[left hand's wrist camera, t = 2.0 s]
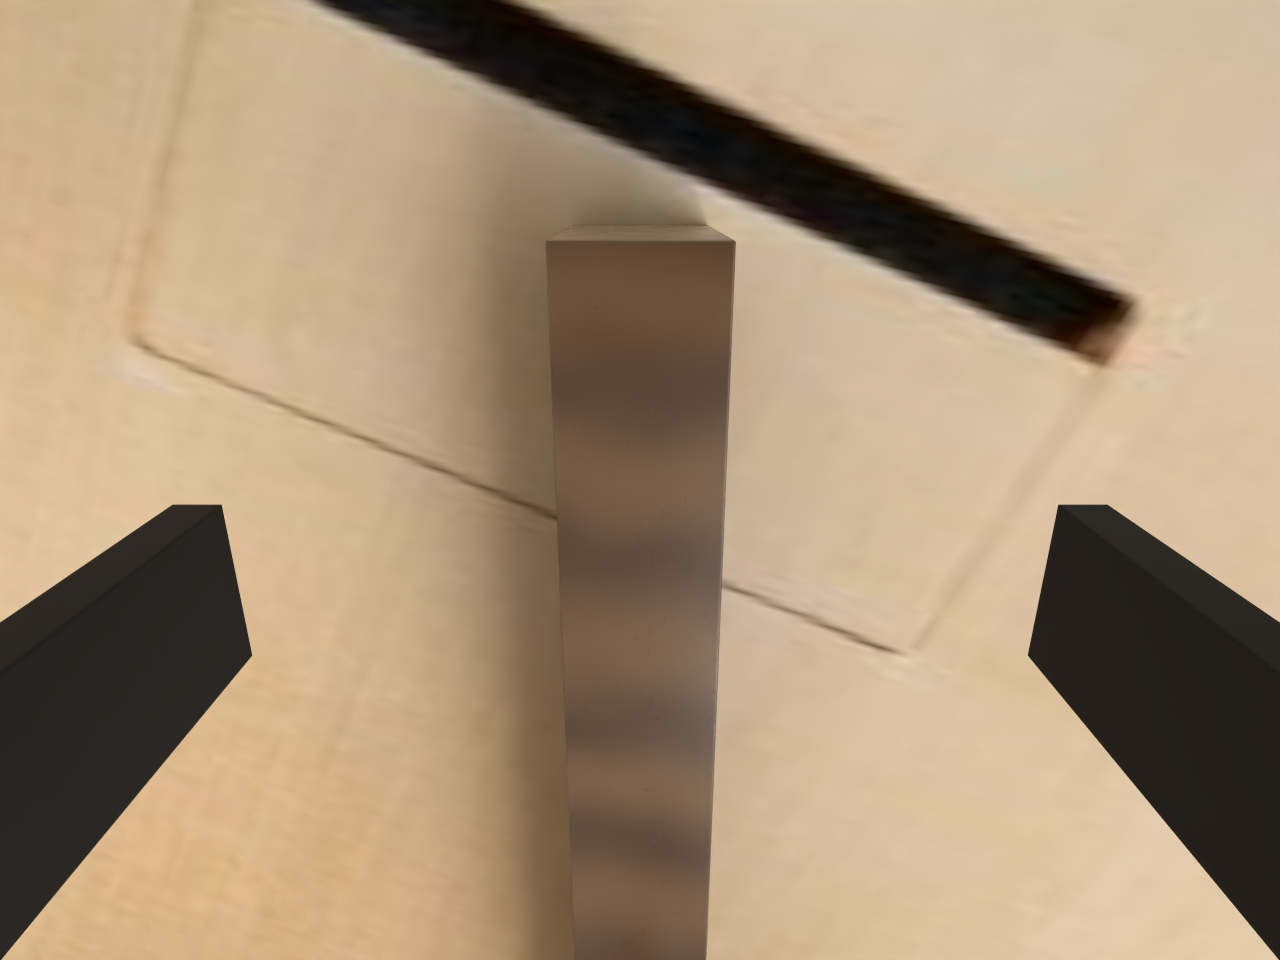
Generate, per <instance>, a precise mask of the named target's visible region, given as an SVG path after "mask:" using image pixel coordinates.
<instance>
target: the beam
mask: <svg viewBox="0 0 1280 960" xmlns="http://www.w3.org/2000/svg"><path fill="white" fill-rule="evenodd" d="M735 249H736V242H735V241H734V240H732V239H730V238H729V237H727V236H725V235H724V234H722V233H720V232H719V231H717V230H715V229H713V228H712V227H710V226H708V225H573V226H571V227H569V228H568V229H566V230H564V231H563V232H561V233H559V234H558V235H556V236H554V237H553V238H551V239H549V240H547V241H546V264H547V289H548V314H549V338H550V363H551V388H552V412H553V437H554V461H555V486H556V511H557V535H558V560H559V584H560V609H561V634H562V658H563V683H564V707H565V732H566V757H567V781H568V806H569V831H570V855H571V880H572V904H573V929H574V954H575V960H706V953H707V928H708V904H709V880H710V855H711V831H712V807H713V783H714V758H715V734H716V710H717V686H718V661H719V637H720V613H721V588H722V564H723V540H724V516H725V491H726V467H727V443H728V418H729V394H730V370H731V346H732V321H733V297H734V273H735Z"/></svg>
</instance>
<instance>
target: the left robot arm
mask: <svg viewBox="0 0 1280 960" xmlns="http://www.w3.org/2000/svg"><path fill="white" fill-rule="evenodd" d="M251 656H252V652H251V647H250V642H249V638H248V633H247V628H246V623H245V618H244V613H243V608H242V603H241V598H240V593H239V588H238V583H237V578H236V573H235V569H234V564H233V559H232V554H231V549H230V544H229V539H228V534H227V529H226V524H225V519H224V514H223V509H222V505H172V506H170V507H169V508H167V509H166V510H164V511H163V512H161V513H160V514H158V515H157V516H156V517H154V518H153V519H151V520H150V521H148V522H147V523H145V524H144V525H142V526H141V527H139V528H138V529H136V530H135V531H134V532H132V533H131V534H129V535H128V536H126V537H125V538H123V539H122V540H120V541H119V542H117V543H116V544H115V545H113V546H112V547H110V548H109V549H107V550H106V551H104V552H103V553H101V554H100V555H98V556H97V557H95V558H94V559H93V560H91V561H90V562H88V563H87V564H85V565H84V566H82V567H81V568H79V569H78V570H76V571H75V572H74V573H72V574H71V575H69V576H68V577H66V578H65V579H63V580H62V581H60V582H59V583H57V584H56V585H55V586H53V587H52V588H50V589H49V590H47V591H46V592H44V593H43V594H41V595H40V596H38V597H37V598H35V599H34V600H33V601H31V602H30V603H28V604H27V605H25V606H24V607H22V608H21V609H19V610H18V611H16V612H15V613H14V614H12V615H11V616H9V617H8V618H6V619H5V620H3V621H2V622H0V960H1V959H2V958H3V957H4V956H5V954H6V953H7V952H8V951H9V949H10V948H11V947H12V946H13V945H14V943H15V942H16V941H17V940H18V939H19V937H20V936H21V935H22V934H23V933H24V931H25V930H26V929H27V928H28V926H29V925H30V924H31V923H32V922H33V920H34V919H35V918H36V917H37V916H38V914H39V913H40V912H41V911H42V910H43V908H44V907H45V906H46V905H47V903H48V902H49V901H50V900H51V899H52V897H53V896H54V895H55V894H56V893H57V891H58V890H59V889H60V888H61V886H62V885H63V884H64V883H65V882H66V880H67V879H68V878H69V877H70V876H71V874H72V873H73V872H74V871H75V870H76V868H77V867H78V866H79V865H80V863H81V862H82V861H83V860H84V859H85V857H86V856H87V855H88V854H89V853H90V851H91V850H92V849H93V848H94V846H95V845H96V844H97V843H98V842H99V840H100V839H101V838H102V837H103V836H104V834H105V833H106V832H107V831H108V830H109V828H110V827H111V826H112V825H113V823H114V822H115V821H116V820H117V819H118V817H119V816H120V815H121V814H122V813H123V811H124V810H125V809H126V808H127V807H128V805H129V804H130V803H131V802H132V800H133V799H134V798H135V797H136V796H137V794H138V793H139V792H140V791H141V790H142V788H143V787H144V786H145V785H146V783H147V782H148V781H149V780H150V779H151V777H152V776H153V775H154V774H155V773H156V771H157V770H158V769H159V768H160V767H161V765H162V764H163V763H164V762H165V760H166V759H167V758H168V757H169V756H170V754H171V753H172V752H173V751H174V750H175V748H176V747H177V746H178V745H179V743H180V742H181V741H182V740H183V739H184V737H185V736H186V735H187V734H188V733H189V731H190V730H191V729H192V728H193V727H194V725H195V724H196V723H197V722H198V720H199V719H200V718H201V717H202V716H203V714H204V713H205V712H206V711H207V710H208V708H209V707H210V706H211V705H212V704H213V702H214V701H215V700H216V699H217V697H218V696H219V695H220V694H221V693H222V691H223V690H224V689H225V688H226V687H227V685H228V684H229V683H230V682H231V680H232V679H233V678H234V677H235V676H236V674H237V673H238V672H239V671H240V670H241V668H242V667H243V666H244V665H245V664H246V662H247V661H248V660H249V659H250V657H251ZM1028 656H1029V657H1030V659H1031V660H1032V661H1033V662H1034V664H1035V665H1036V666H1037V667H1038V668H1039V670H1040V671H1041V672H1042V673H1043V674H1044V676H1045V677H1046V678H1047V679H1048V680H1049V682H1050V683H1051V684H1052V685H1053V687H1054V688H1055V689H1056V690H1057V691H1058V693H1059V694H1060V695H1061V696H1062V697H1063V699H1064V700H1065V701H1066V702H1067V704H1068V705H1069V706H1070V707H1071V708H1072V710H1073V711H1074V712H1075V713H1076V714H1077V716H1078V717H1079V718H1080V719H1081V720H1082V722H1083V723H1084V724H1085V725H1086V727H1087V728H1088V729H1089V730H1090V731H1091V733H1092V734H1093V735H1094V736H1095V737H1096V739H1097V740H1098V741H1099V742H1100V743H1101V745H1102V746H1103V747H1104V748H1105V750H1106V751H1107V752H1108V753H1109V754H1110V756H1111V757H1112V758H1113V759H1114V760H1115V762H1116V763H1117V764H1118V765H1119V767H1120V768H1121V769H1122V770H1123V771H1124V773H1125V774H1126V775H1127V776H1128V777H1129V779H1130V780H1131V781H1132V782H1133V783H1134V785H1135V786H1136V787H1137V788H1138V790H1139V791H1140V792H1141V793H1142V794H1143V796H1144V797H1145V798H1146V799H1147V800H1148V802H1149V803H1150V804H1151V805H1152V807H1153V808H1154V809H1155V810H1156V811H1157V813H1158V814H1159V815H1160V816H1161V817H1162V819H1163V820H1164V821H1165V822H1166V823H1167V825H1168V826H1169V827H1170V828H1171V830H1172V831H1173V832H1174V833H1175V834H1176V836H1177V837H1178V838H1179V839H1180V840H1181V842H1182V843H1183V844H1184V845H1185V846H1186V848H1187V849H1188V850H1189V851H1190V853H1191V854H1192V855H1193V856H1194V857H1195V859H1196V860H1197V861H1198V862H1199V863H1200V865H1201V866H1202V867H1203V868H1204V870H1205V871H1206V872H1207V873H1208V874H1209V876H1210V877H1211V878H1212V879H1213V880H1214V882H1215V883H1216V884H1217V885H1218V886H1219V888H1220V889H1221V890H1222V891H1223V893H1224V894H1225V895H1226V896H1227V897H1228V899H1229V900H1230V901H1231V902H1232V903H1233V905H1234V906H1235V907H1236V908H1237V910H1238V911H1239V912H1240V913H1241V914H1242V916H1243V917H1244V918H1245V919H1246V920H1247V922H1248V923H1249V924H1250V925H1251V926H1252V928H1253V929H1254V930H1255V931H1256V933H1257V934H1258V935H1259V936H1260V937H1261V939H1262V940H1263V941H1264V942H1265V943H1266V945H1267V946H1268V947H1269V948H1270V949H1271V951H1272V952H1273V953H1274V954H1275V956H1276V957H1277V958H1278V959H1279V960H1280V622H1278V621H1277V620H1275V619H1274V618H1272V617H1271V616H1269V615H1268V614H1266V613H1265V612H1264V611H1262V610H1261V609H1259V608H1258V607H1256V606H1255V605H1253V604H1252V603H1250V602H1249V601H1247V600H1246V599H1245V598H1243V597H1242V596H1240V595H1239V594H1237V593H1236V592H1234V591H1233V590H1231V589H1230V588H1228V587H1227V586H1225V585H1224V584H1223V583H1221V582H1220V581H1218V580H1217V579H1215V578H1214V577H1212V576H1211V575H1209V574H1208V573H1206V572H1205V571H1204V570H1202V569H1201V568H1199V567H1198V566H1196V565H1195V564H1193V563H1192V562H1190V561H1189V560H1187V559H1186V558H1184V557H1183V556H1182V555H1180V554H1179V553H1177V552H1176V551H1174V550H1173V549H1171V548H1170V547H1168V546H1167V545H1165V544H1164V543H1163V542H1161V541H1160V540H1158V539H1157V538H1155V537H1154V536H1152V535H1151V534H1149V533H1148V532H1146V531H1145V530H1144V529H1142V528H1141V527H1139V526H1138V525H1136V524H1135V523H1133V522H1132V521H1130V520H1129V519H1127V518H1126V517H1124V516H1123V515H1122V514H1120V513H1119V512H1117V511H1116V510H1114V509H1113V508H1111V507H1110V506H1108V505H1058V509H1057V514H1056V519H1055V524H1054V529H1053V534H1052V539H1051V544H1050V549H1049V554H1048V559H1047V564H1046V569H1045V573H1044V578H1043V583H1042V588H1041V593H1040V598H1039V603H1038V608H1037V613H1036V618H1035V623H1034V628H1033V633H1032V638H1031V642H1030V647H1029V652H1028Z"/></svg>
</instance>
